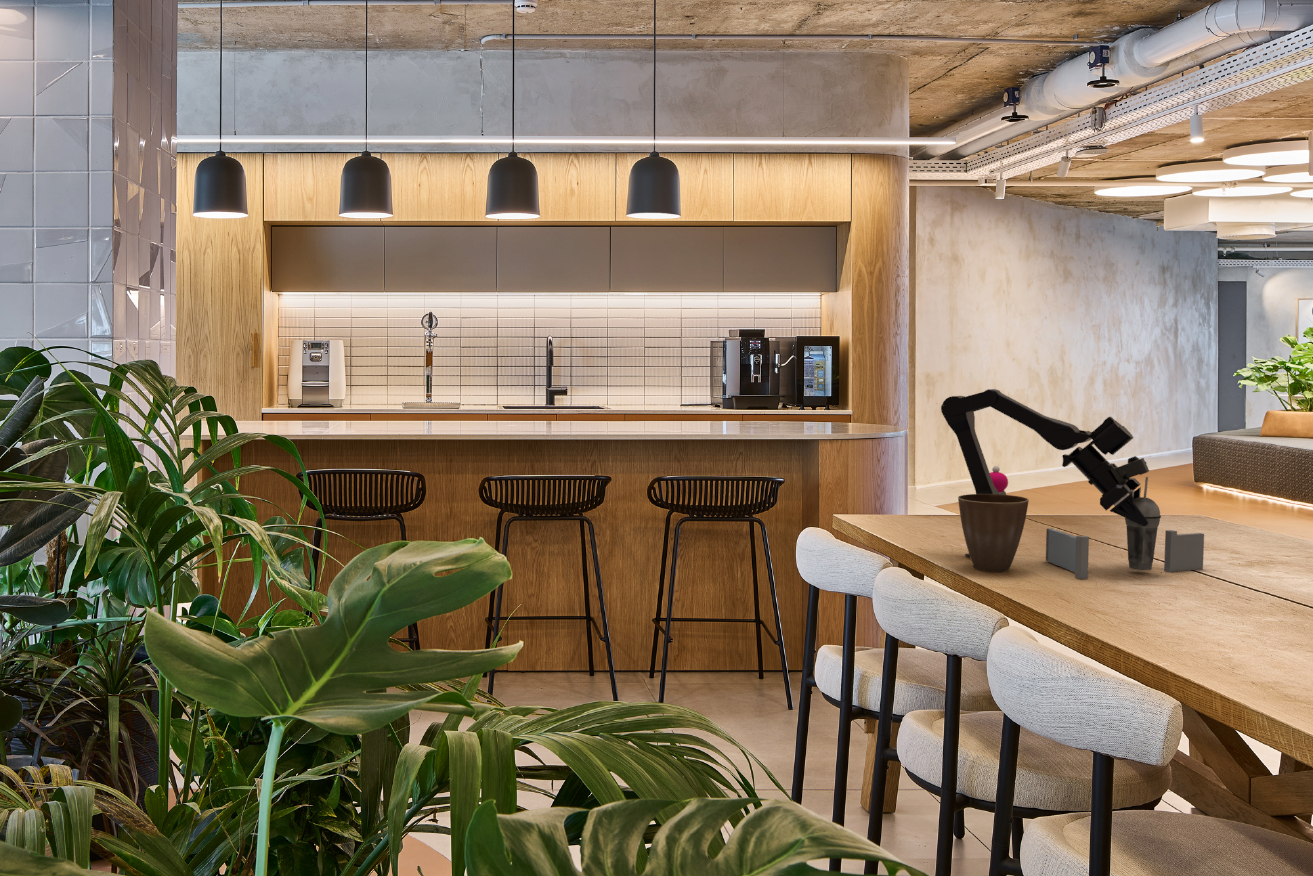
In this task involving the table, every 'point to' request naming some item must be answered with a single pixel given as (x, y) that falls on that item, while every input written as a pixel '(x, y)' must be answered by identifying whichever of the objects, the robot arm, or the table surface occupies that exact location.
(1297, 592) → the table surface
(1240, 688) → the table surface
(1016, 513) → the plant pot
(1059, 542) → the grey thin rectangular panel
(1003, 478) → the pepper mill
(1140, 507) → the beverage cup
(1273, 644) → the table surface
